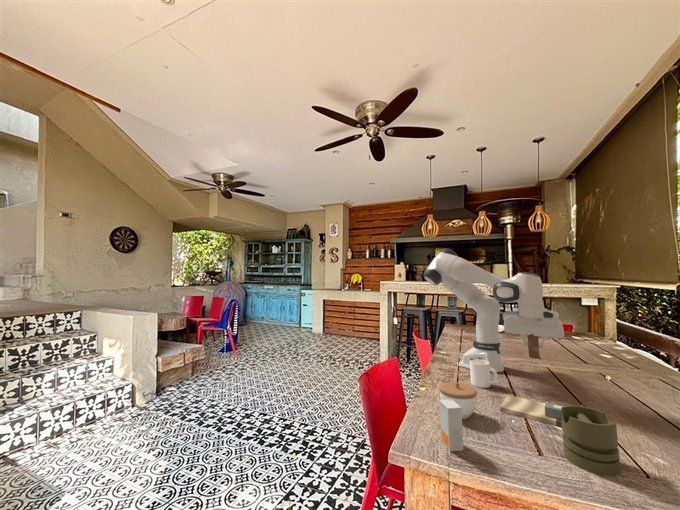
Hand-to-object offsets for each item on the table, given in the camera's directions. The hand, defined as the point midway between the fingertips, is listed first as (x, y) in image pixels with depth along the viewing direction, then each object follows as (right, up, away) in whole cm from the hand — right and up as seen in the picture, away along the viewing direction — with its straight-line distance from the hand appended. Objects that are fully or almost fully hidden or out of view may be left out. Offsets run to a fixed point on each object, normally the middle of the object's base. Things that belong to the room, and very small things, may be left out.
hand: (533, 346), depth 115 cm
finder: (-4, -18, -17) cm, 25 cm away
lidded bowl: (-35, -21, -12) cm, 43 cm away
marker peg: (0, -4, 0) cm, 4 cm away
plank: (-5, -20, -12) cm, 24 cm away
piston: (-11, -18, -39) cm, 44 cm away
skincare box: (-45, -19, -31) cm, 58 cm away
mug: (-12, -23, +15) cm, 30 cm away
